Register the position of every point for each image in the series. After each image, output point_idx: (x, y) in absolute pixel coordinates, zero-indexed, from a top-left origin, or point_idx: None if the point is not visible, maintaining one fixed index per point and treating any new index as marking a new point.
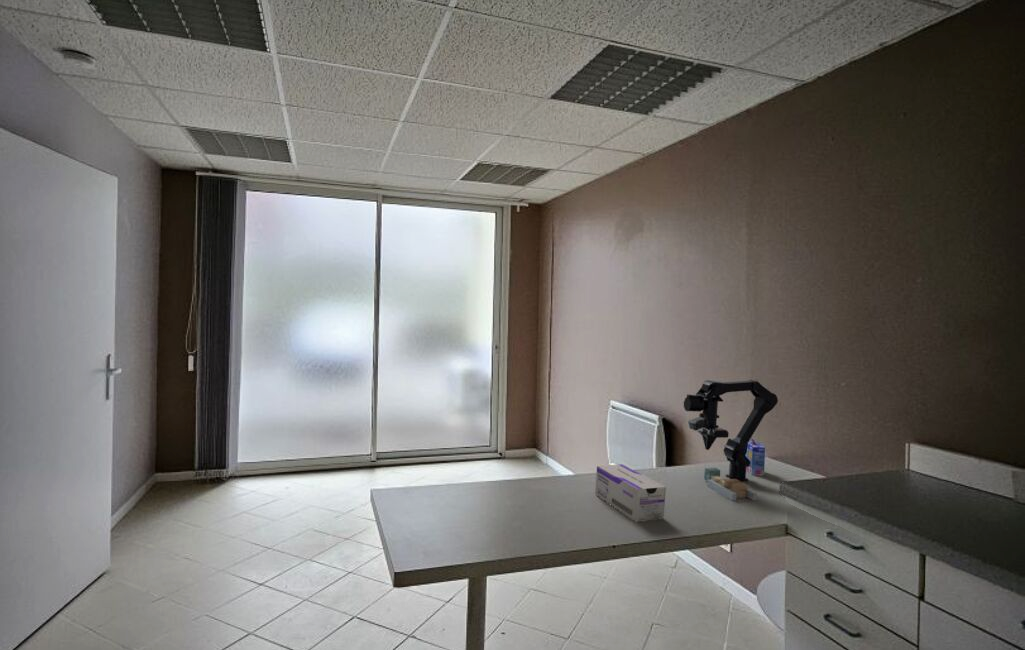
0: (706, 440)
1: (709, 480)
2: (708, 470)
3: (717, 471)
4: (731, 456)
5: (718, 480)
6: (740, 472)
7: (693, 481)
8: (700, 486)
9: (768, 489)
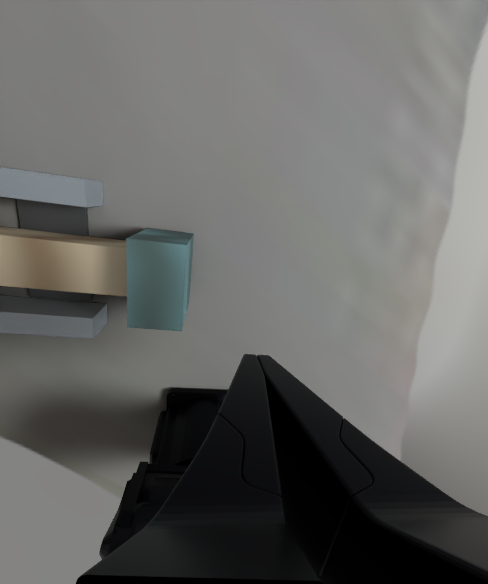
0: (240, 442)
1: (62, 178)
2: (136, 238)
3: (129, 303)
4: (156, 494)
5: (49, 238)
6: (153, 441)
7: (192, 151)
8: (93, 124)
9: (49, 451)
